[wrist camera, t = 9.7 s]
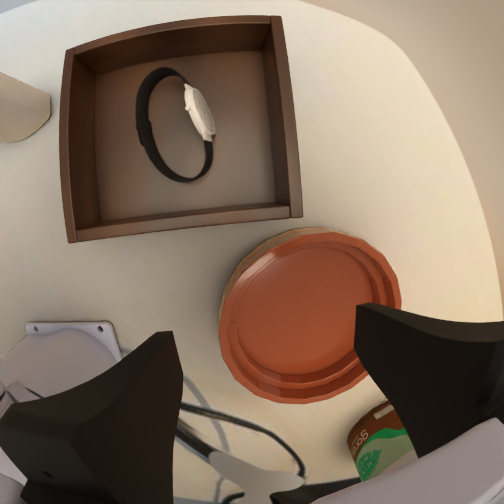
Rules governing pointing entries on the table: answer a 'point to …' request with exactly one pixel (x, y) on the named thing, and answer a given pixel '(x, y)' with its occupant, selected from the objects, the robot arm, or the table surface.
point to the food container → (380, 443)
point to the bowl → (301, 313)
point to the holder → (179, 129)
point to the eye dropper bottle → (21, 109)
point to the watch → (193, 106)
